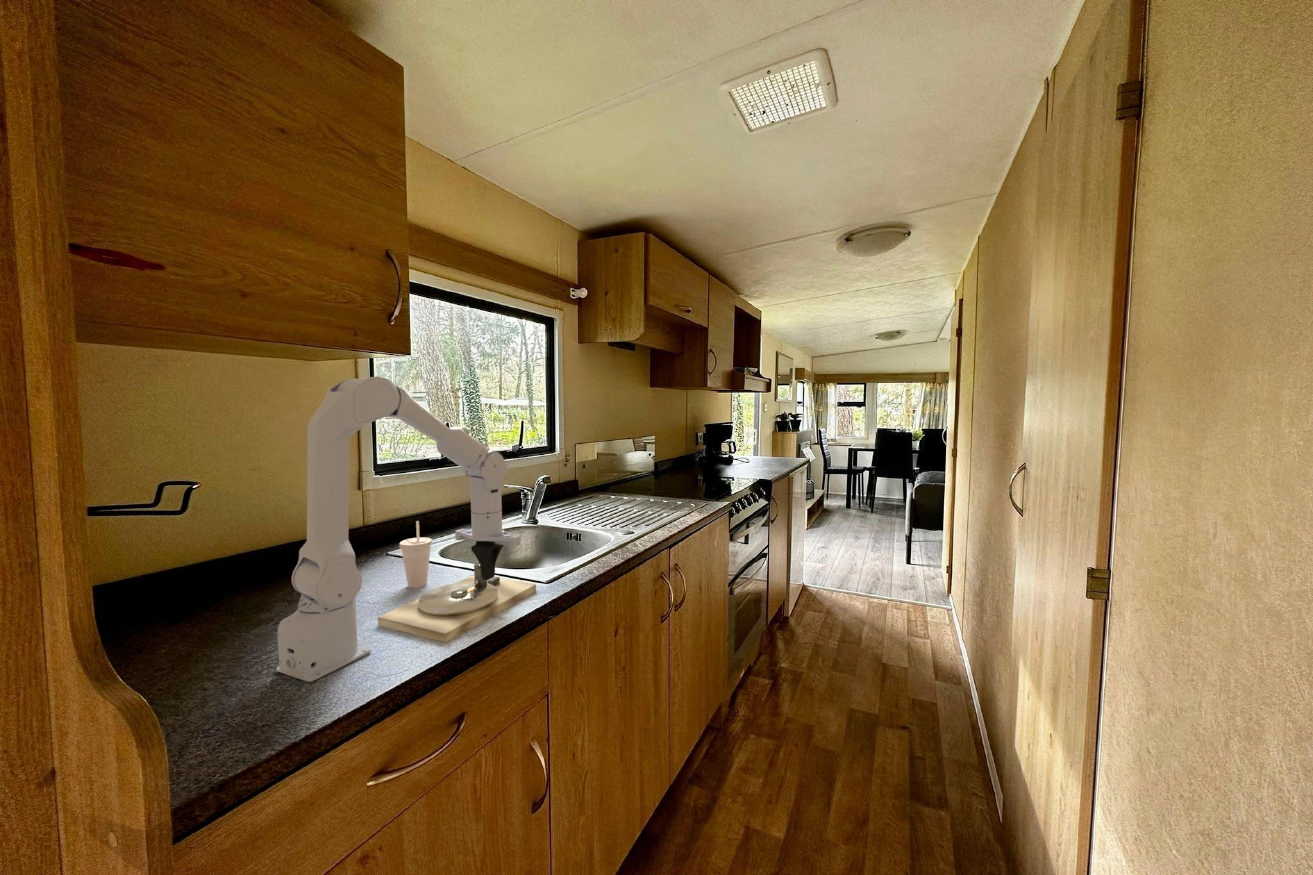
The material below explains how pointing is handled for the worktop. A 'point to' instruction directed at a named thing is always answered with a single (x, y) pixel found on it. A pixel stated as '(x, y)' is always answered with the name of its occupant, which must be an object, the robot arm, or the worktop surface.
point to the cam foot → (459, 597)
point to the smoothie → (416, 559)
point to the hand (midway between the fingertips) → (488, 578)
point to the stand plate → (452, 626)
